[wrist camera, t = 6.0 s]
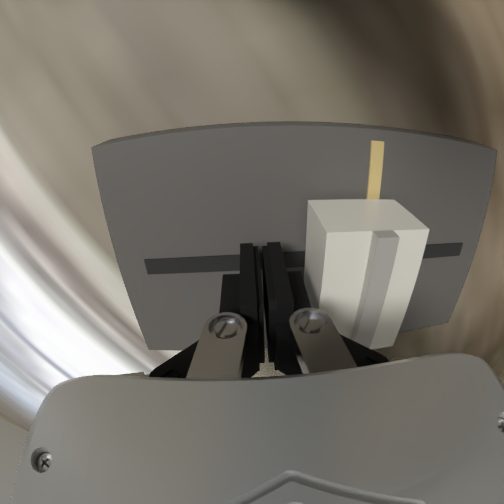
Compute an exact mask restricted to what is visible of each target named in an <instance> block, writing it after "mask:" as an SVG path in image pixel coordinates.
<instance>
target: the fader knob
mask: <svg viewBox="0 0 504 504" xmlns="http://www.w3.org/2000/svg"><path fill="white" fill-rule="evenodd" d="M428 234H429V228H427V227H426V226H425V225H424V224H423V223H422V222H421V221H419V220H418V219H417V218H416V217H415V216H414V215H412V214H411V213H410V212H409V211H408V210H406V209H405V208H404V207H403V206H402V205H400V204H399V203H398V202H397V201H395V200H389V199H337V200H308V208H307V232H306V252H305V268H304V284H305V287H306V290H307V294H308V297H309V301H310V304H311V308H316V309H319V310H322V311H324V312H325V313H327V314H328V315H329V317H330V318H331V320H332V321H333V323H334V325H335V327H336V329H337V330H338V332H339V334H341V335H343V336H345V337H347V338H349V339H351V340H353V341H355V342H357V343H359V344H361V345H363V346H365V347H367V348H369V349H371V350H372V349H378V348H384V347H389V346H393V344H394V342H395V339H396V337H397V334H398V332H399V329H400V326H401V324H402V321H403V318H404V316H405V313H406V310H407V307H408V304H409V301H410V298H411V295H412V292H413V289H414V286H415V282H416V279H417V276H418V272H419V269H420V265H421V261H422V258H423V254H424V250H425V246H426V242H427V238H428Z"/></svg>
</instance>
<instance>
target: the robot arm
mask: <svg viewBox="0 0 504 504" xmlns="http://www.w3.org/2000/svg"><path fill="white" fill-rule="evenodd" d="M262 264H263V291H262V280H261V270H260V259H259V249H258V246H253V243H240V274H223V277H222V287H221V298H220V309H219V313H218V314H215V315H213V316H211V317H210V318H209V319H208V320H207V321H206V323H205V324H204V327H203V330H202V333H201V336H200V339H199V340H198V341H196V342H195V343H193V344H192V345H190V346H189V347H187V348H186V349H184V350H183V351H181V352H180V353H178V354H177V355H175V356H174V357H172V358H171V359H169V360H167V361H166V362H164V363H163V364H161V365H160V366H158V367H157V368H155V369H154V370H153V371H152V372H151V373H150V374H147V375H145V374H144V372H139V373H131V374H122V375H92V376H83V377H78V378H74V379H69V380H67V381H64V382H62V383H59V384H58V385H56V386H55V387H54V388H53V389H52V390H51V391H50V392H49V393H48V394H47V396H46V397H45V399H44V400H43V402H42V404H41V406H40V408H39V409H38V412H37V414H36V416H35V418H34V420H33V423H32V425H31V428H30V431H29V433H28V436H27V439H26V442H25V445H24V448H23V452H22V455H21V459H20V462H19V466H18V469H17V473H16V477H15V482H14V487H13V492H12V498H11V504H504V385H503V383H502V382H501V380H500V379H499V377H498V376H497V374H496V373H495V371H494V370H493V369H492V368H491V366H490V365H489V364H488V363H487V362H486V361H484V360H483V359H482V358H480V357H478V356H475V355H471V354H466V353H457V352H451V353H437V354H429V355H424V356H418V357H392V359H391V360H388V359H387V358H386V357H384V356H383V355H381V354H379V353H377V352H375V351H373V350H371V349H369V348H367V347H365V346H363V345H361V344H359V343H357V342H355V341H353V340H351V339H349V338H347V337H345V336H343V335H341V334H339V332H338V330H337V329H336V327H335V325H334V323H333V321H332V320H331V318H330V317H329V315H328V314H327V313H325V312H324V311H322V310H319V309H316V308H311V304H310V301H309V297H308V294H307V290H306V287H305V284H304V280H303V277H302V274H301V271H287V269H286V265H285V260H284V256H283V252H282V248H281V244H280V242H267V246H262ZM264 314H265V325H266V336H267V347H268V358H269V362H274V366H275V370H279V371H281V372H282V373H284V374H285V376H271V377H253V378H251V377H252V376H253V375H254V374H255V373H257V372H258V371H259V370H260V368H259V363H265V353H264Z"/></svg>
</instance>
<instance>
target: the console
mask: <svg viewBox="0 0 504 504" xmlns="http://www.w3.org/2000/svg"><path fill="white" fill-rule="evenodd" d="M91 148H92V154H93V160H94V166H95V171H96V177H97V182H98V187H99V191H100V196H101V201H102V205H103V209H104V214H105V218H106V222H107V226H108V230H109V233H110V237H111V241H112V244H113V248H114V251H115V255H116V258H117V262H118V265H119V268H120V271H121V275H122V278H123V281H124V284H125V287H126V290H127V293H128V296H129V299H130V302H131V304H132V307H133V310H134V313H135V315H136V318H137V321H138V323H139V326H140V329H141V331H142V334H143V336H144V339H145V341H146V344H147V346H148V348H149V350H184V349H186V348H187V347H189V346H190V345H192V344H193V343H195V342H196V341H198V340H199V339H200V336H201V333H202V330H203V327H204V324H205V323H206V321H207V320H208V319H209V318H210V317H211V316H213V315H215V314H218V313H219V309H220V298H221V287H222V277H223V274H240V243H253V246H258V249H259V259H260V270H261V280H262V291H263V264H262V246H267V242H280V244H281V248H282V252H283V256H284V260H285V265H286V269H287V271H301V274H302V277H303V280H304V268H305V252H306V232H307V208H308V200H337V199H389V200H395V201H397V202H398V203H399V204H400V205H402V206H403V207H404V208H405V209H406V210H408V211H409V212H410V213H411V214H412V215H414V216H415V217H416V218H417V219H418V220H419V221H421V222H422V223H423V224H424V225H425V226H426V227H427V228H429V234H428V238H427V242H426V246H425V250H424V254H423V258H422V261H421V265H420V269H419V272H418V276H417V279H416V282H415V286H414V289H413V292H412V295H411V298H410V301H409V304H408V307H407V310H406V313H405V316H404V318H403V321H402V324H401V326H400V329H399V332H404V331H410V330H415V329H420V328H425V327H430V326H434V325H439V324H443V323H448V321H449V319H450V316H451V314H452V312H453V310H454V307H455V305H456V303H457V300H458V298H459V295H460V293H461V290H462V288H463V285H464V282H465V280H466V277H467V274H468V272H469V269H470V266H471V263H472V260H473V257H474V254H475V251H476V247H477V244H478V241H479V237H480V234H481V230H482V227H483V223H484V219H485V215H486V211H487V206H488V202H489V197H490V192H491V187H492V182H493V176H494V170H495V163H496V156H497V150H495V149H493V148H490V147H487V146H485V145H482V144H479V143H477V142H473V141H469V140H464V139H460V138H455V137H450V136H445V135H439V134H434V133H428V132H422V131H415V130H408V129H401V128H393V127H384V126H374V125H363V124H349V123H331V122H249V123H231V124H217V125H206V126H196V127H186V128H178V129H170V130H163V131H156V132H150V133H144V134H138V135H132V136H126V137H121V138H116V139H111V140H108V141H106V142H103V143H101V144H98V145H96V146H93V147H91ZM399 332H398V333H399ZM264 348H268V347H267V336H266V325H265V314H264Z"/></svg>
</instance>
